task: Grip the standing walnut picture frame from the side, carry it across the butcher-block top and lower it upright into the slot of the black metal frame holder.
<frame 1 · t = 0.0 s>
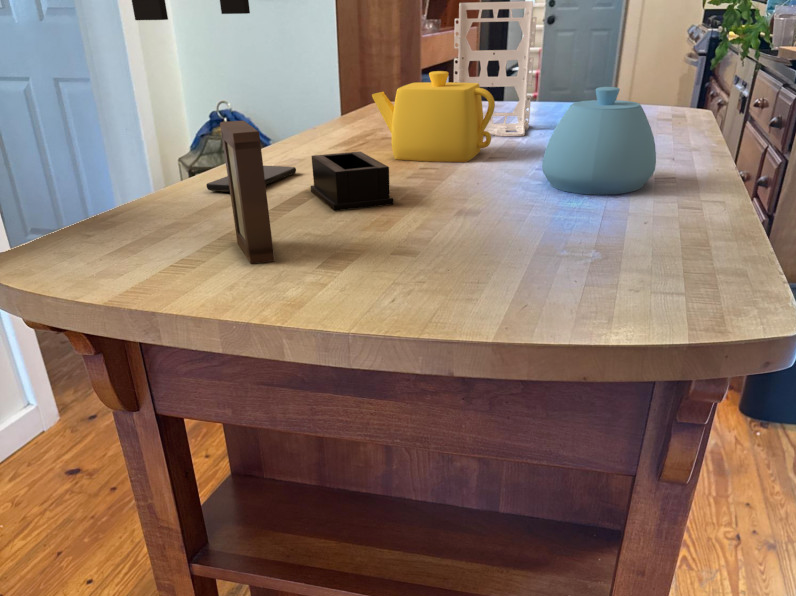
hand: (197, 17, 67), 21 cm above the table, tool pointing down, fingers open, 13 cm apart
white perforated rack: (490, 131, 142), on the table
sugar bowl: (595, 185, 103), on the table
smartphone: (253, 183, 109), on the table
frame: (255, 252, 80), on the table
teapot: (432, 156, 123), on the table
holder: (350, 198, 100), on the table
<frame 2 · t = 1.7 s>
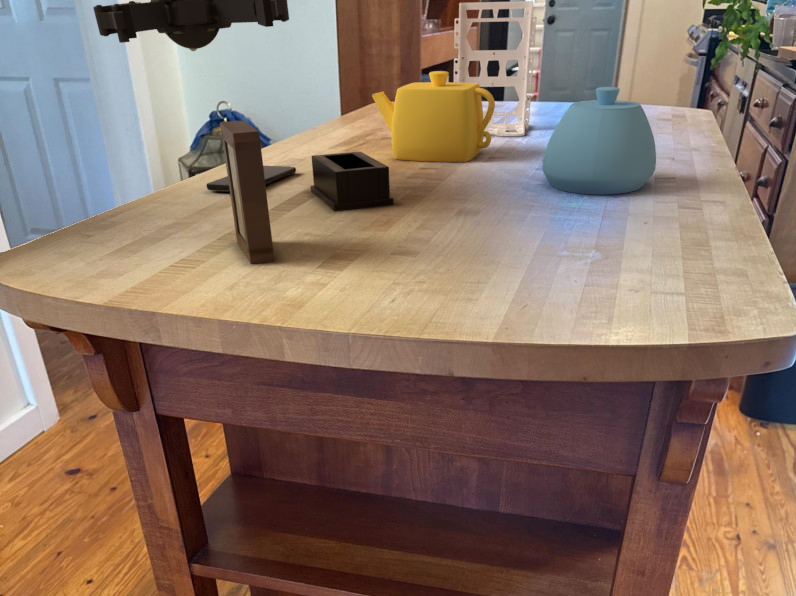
hand: (199, 15, 74), 21 cm above the table, tool horizontal, fingers open, 13 cm apart
nothing on the table moved.
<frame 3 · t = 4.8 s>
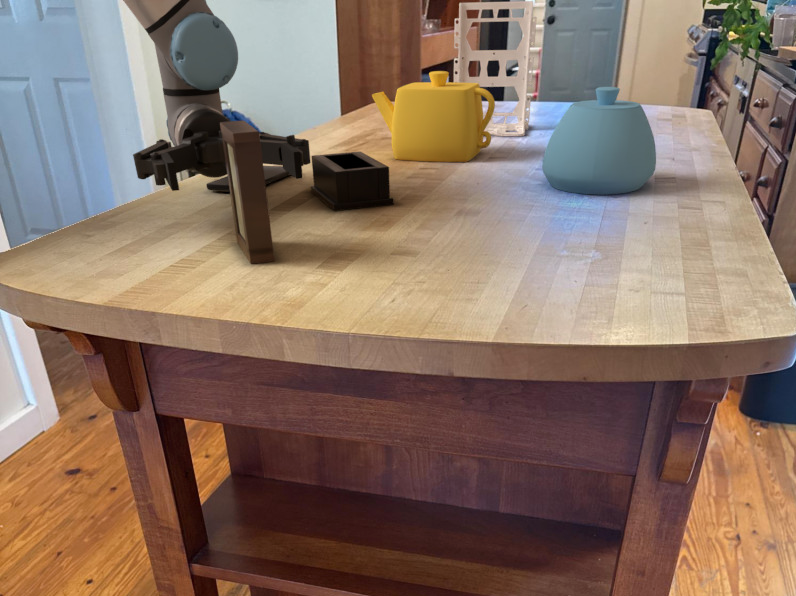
hand: (237, 171, 81), 7 cm above the table, tool horizontal, fingers open, 13 cm apart
nothing on the table moved.
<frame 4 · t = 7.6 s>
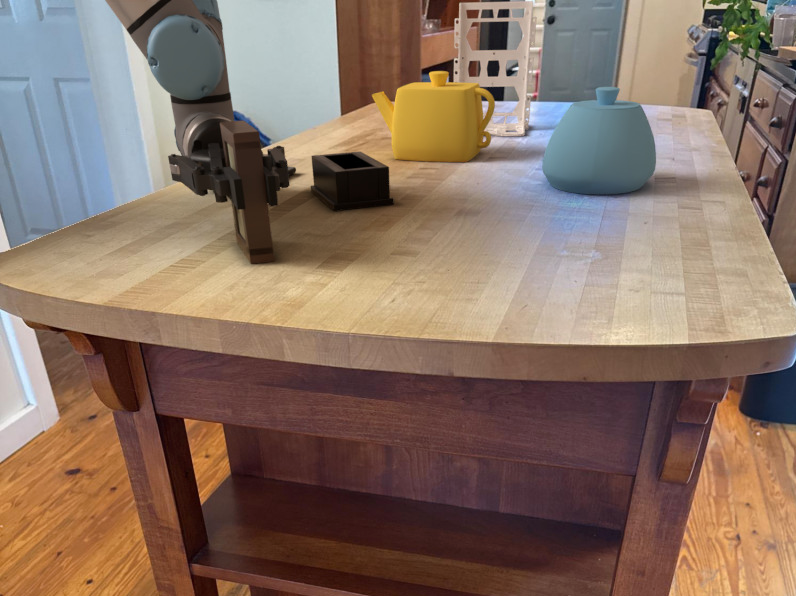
hand: (256, 192, 72), 7 cm above the table, tool horizontal, fingers closed on frame, 2 cm apart
frame: (255, 252, 80), on the table, touching gripper
everything else where it was.
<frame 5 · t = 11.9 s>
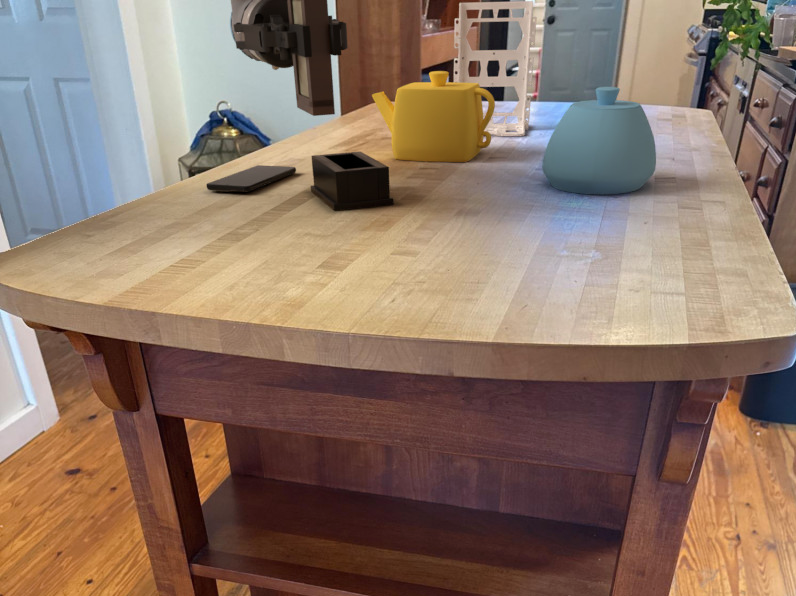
hand: (322, 40, 78), 18 cm above the table, tool horizontal, fingers closed on frame, 2 cm apart
frame: (315, 110, 86), point 11 cm above the table, touching gripper
everything else where it was.
when the fingers open (8 cm above the table, at t = 16.0 s): frame stays where it is, resting on holder.
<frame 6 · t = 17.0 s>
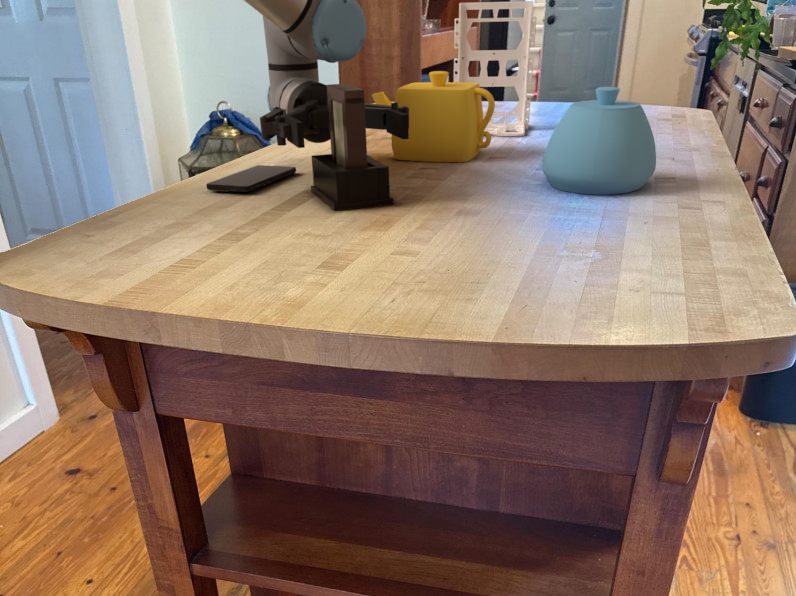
hand: (354, 131, 92), 8 cm above the table, tool horizontal, fingers open, 13 cm apart
frame: (350, 191, 99), point 1 cm above the table, touching holder
everything else where it was.
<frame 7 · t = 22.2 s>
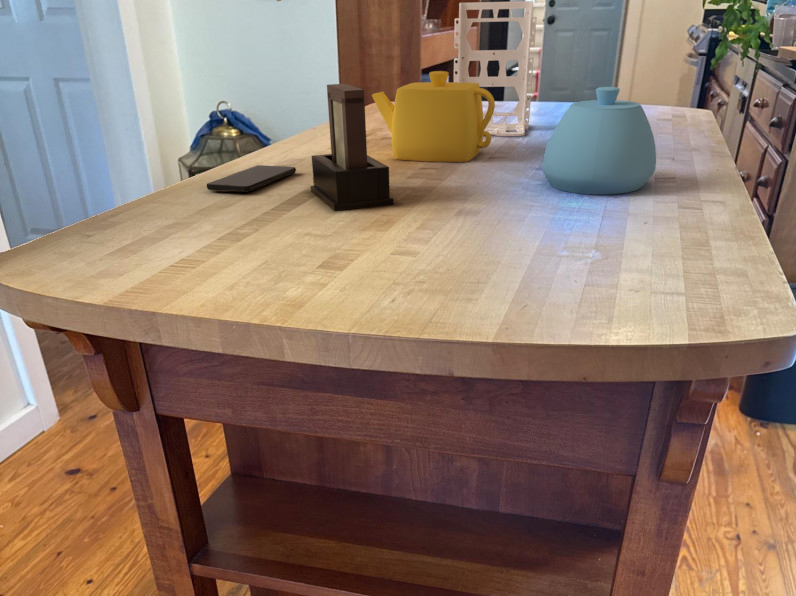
nothing on the table moved.
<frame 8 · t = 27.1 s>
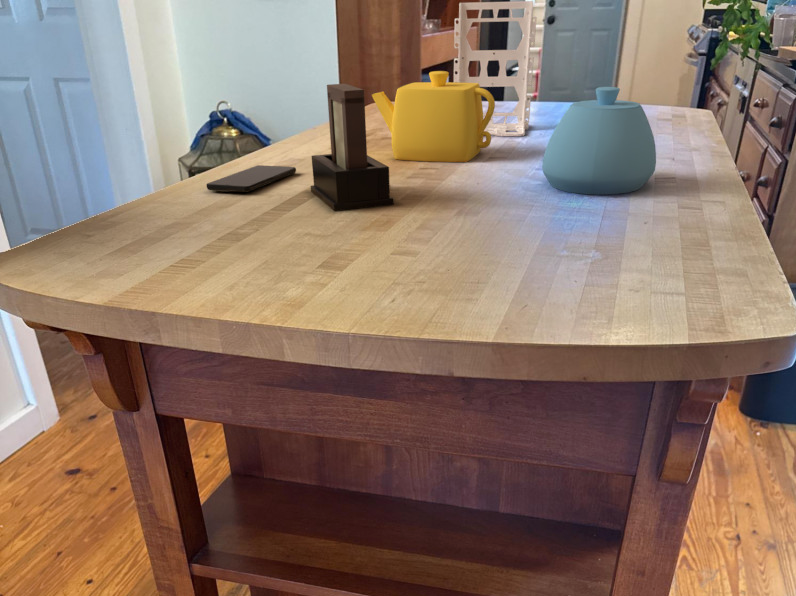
nothing on the table moved.
at the end: frame 0.0 cm off-centre on the holder, point 0.8 cm above the holder's base; frame tilted 0°; the gripper is holding nothing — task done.
